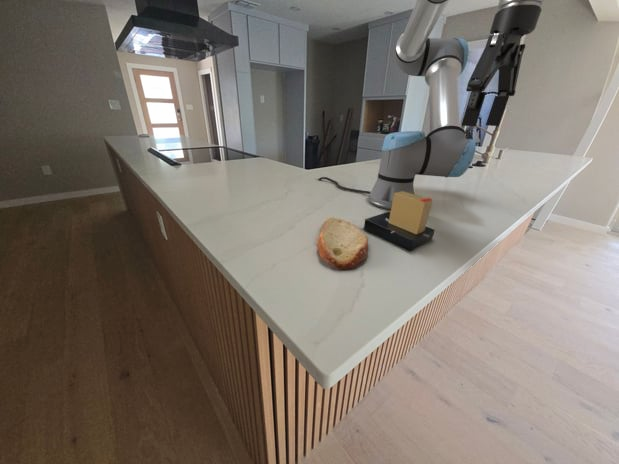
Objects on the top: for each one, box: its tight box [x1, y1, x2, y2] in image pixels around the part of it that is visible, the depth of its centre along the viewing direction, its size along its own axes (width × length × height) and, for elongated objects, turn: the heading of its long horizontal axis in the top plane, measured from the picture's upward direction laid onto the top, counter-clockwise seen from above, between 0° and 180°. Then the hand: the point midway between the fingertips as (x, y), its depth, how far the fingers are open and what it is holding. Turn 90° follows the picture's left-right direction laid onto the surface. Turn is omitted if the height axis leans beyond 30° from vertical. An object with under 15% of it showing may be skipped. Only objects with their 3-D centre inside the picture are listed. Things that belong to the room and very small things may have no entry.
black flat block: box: [363, 211, 436, 252], centre depth 65 cm, size 15×12×3 cm
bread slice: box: [316, 217, 369, 270], centre depth 60 cm, size 18×18×4 cm
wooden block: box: [389, 191, 434, 235], centre depth 62 cm, size 8×4×8 cm, turn 39°
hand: (480, 126), depth 59 cm, fingers open, 13 cm apart
